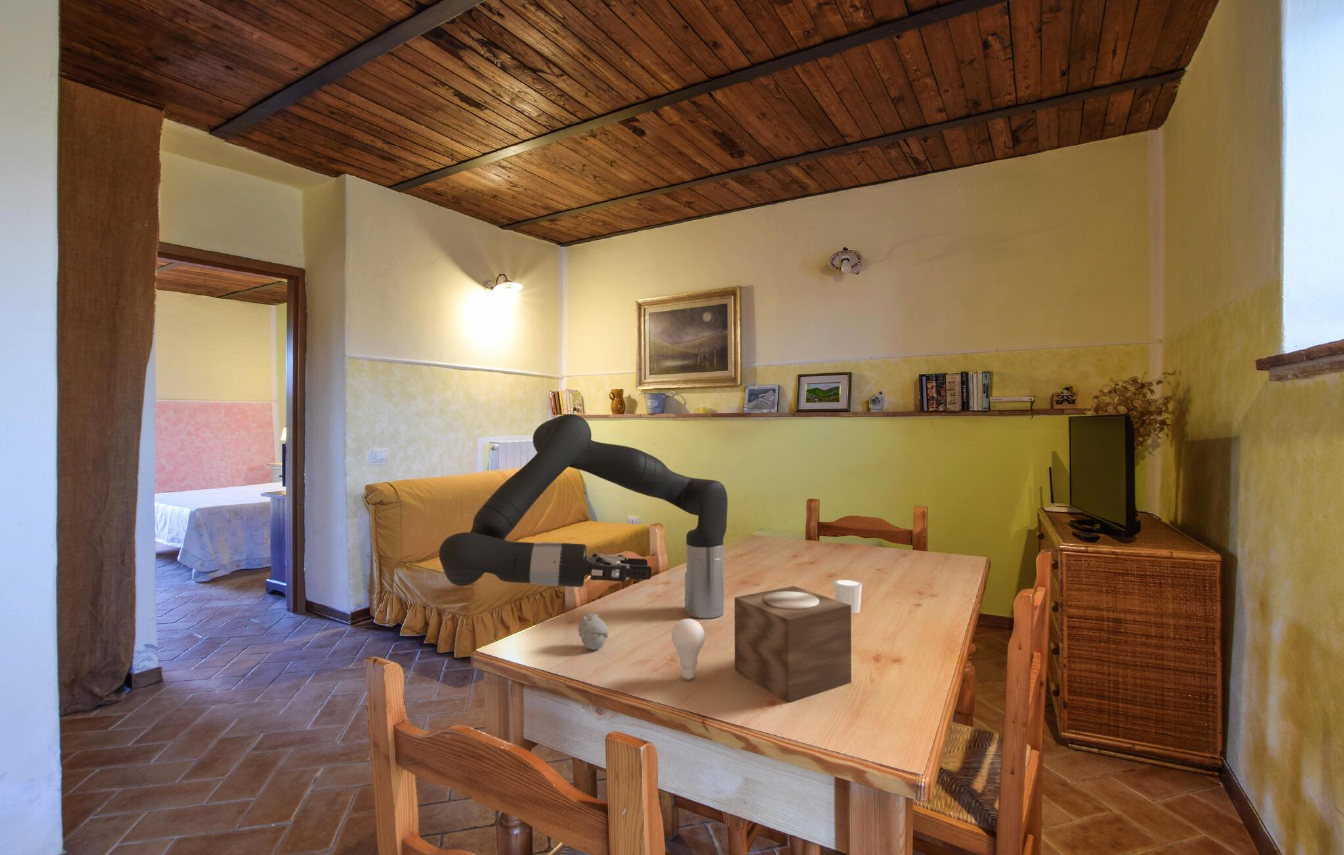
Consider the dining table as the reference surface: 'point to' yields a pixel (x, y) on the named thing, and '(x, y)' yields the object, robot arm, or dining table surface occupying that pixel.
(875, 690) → the dining table surface
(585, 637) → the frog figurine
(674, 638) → the lightbulb
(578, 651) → the dining table surface
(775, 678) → the lamp housing
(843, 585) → the shot glass
